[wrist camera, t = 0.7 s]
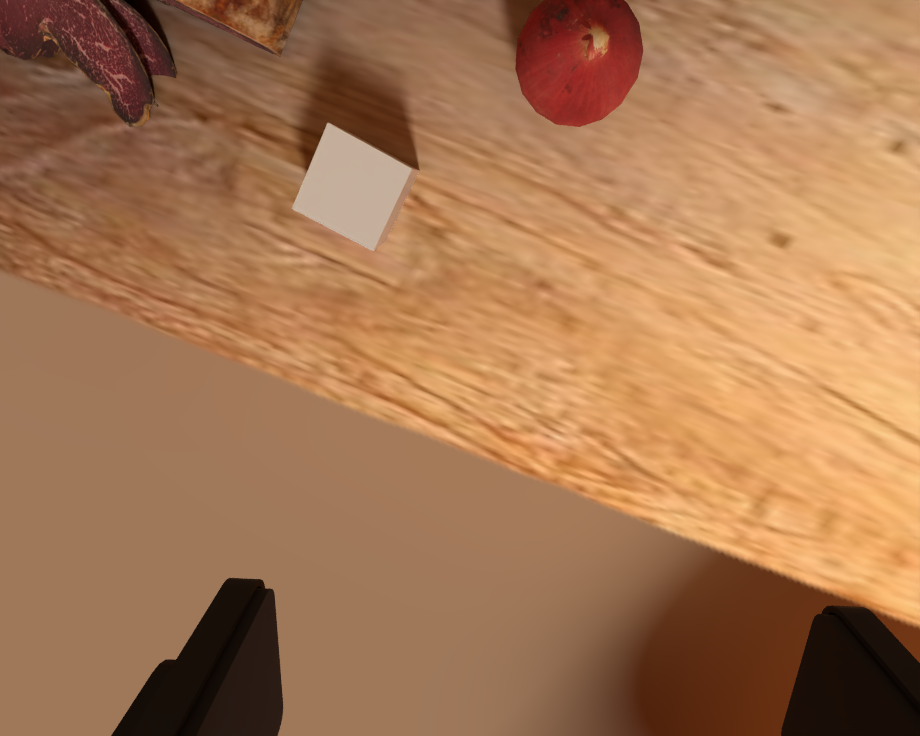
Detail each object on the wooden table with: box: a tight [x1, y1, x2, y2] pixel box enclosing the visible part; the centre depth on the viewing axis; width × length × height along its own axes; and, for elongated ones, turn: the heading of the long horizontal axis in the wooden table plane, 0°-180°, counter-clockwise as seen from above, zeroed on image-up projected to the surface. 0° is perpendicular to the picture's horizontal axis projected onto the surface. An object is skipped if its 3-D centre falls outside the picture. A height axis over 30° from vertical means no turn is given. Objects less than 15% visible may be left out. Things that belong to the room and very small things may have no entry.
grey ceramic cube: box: [292, 123, 419, 251], centre depth 30 cm, size 4×4×4 cm
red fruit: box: [516, 0, 643, 127], centre depth 26 cm, size 6×6×8 cm
